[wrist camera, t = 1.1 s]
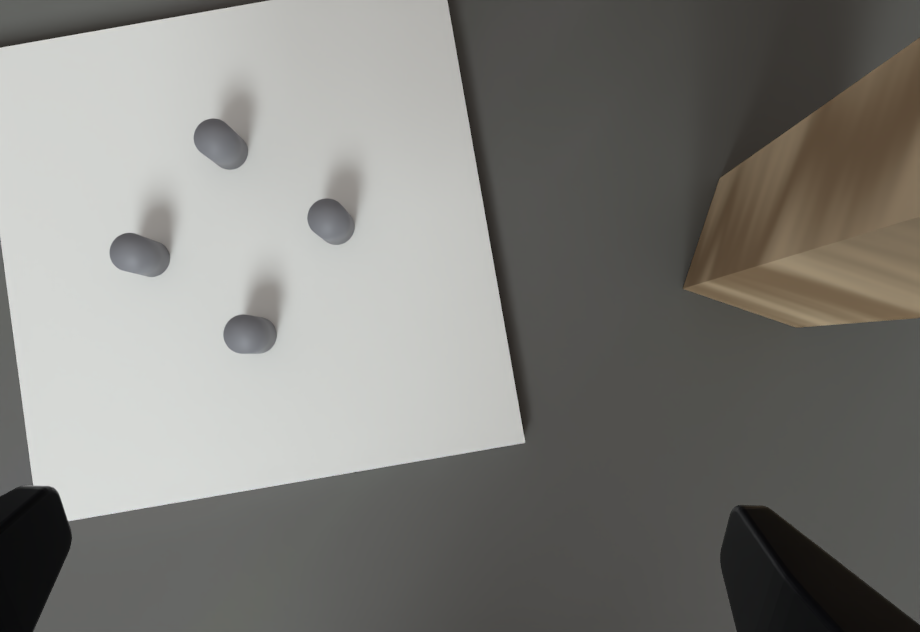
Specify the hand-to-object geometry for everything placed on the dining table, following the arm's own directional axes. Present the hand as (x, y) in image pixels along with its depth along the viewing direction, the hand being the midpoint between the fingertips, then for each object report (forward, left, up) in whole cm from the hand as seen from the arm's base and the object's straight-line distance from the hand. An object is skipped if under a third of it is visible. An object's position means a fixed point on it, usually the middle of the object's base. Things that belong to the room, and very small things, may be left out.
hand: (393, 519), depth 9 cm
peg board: (+8, +2, -13) cm, 16 cm away
